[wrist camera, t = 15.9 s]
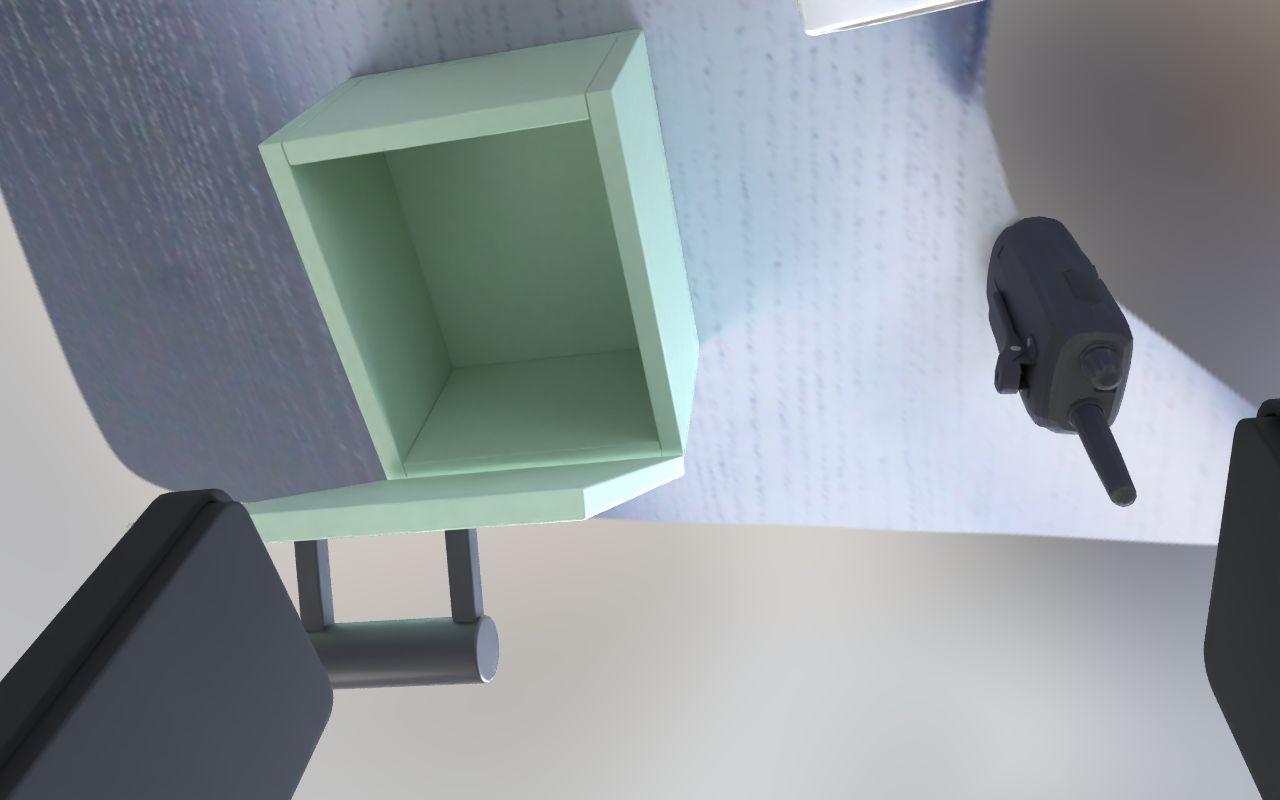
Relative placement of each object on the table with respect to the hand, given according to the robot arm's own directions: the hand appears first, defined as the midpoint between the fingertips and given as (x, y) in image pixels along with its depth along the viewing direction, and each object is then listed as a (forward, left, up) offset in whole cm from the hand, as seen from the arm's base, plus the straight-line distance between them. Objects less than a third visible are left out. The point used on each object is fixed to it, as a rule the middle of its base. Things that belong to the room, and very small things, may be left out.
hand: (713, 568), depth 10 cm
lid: (+12, -12, -19) cm, 25 cm away
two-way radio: (+14, +9, -34) cm, 38 cm away
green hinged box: (+9, -11, -34) cm, 37 cm away
